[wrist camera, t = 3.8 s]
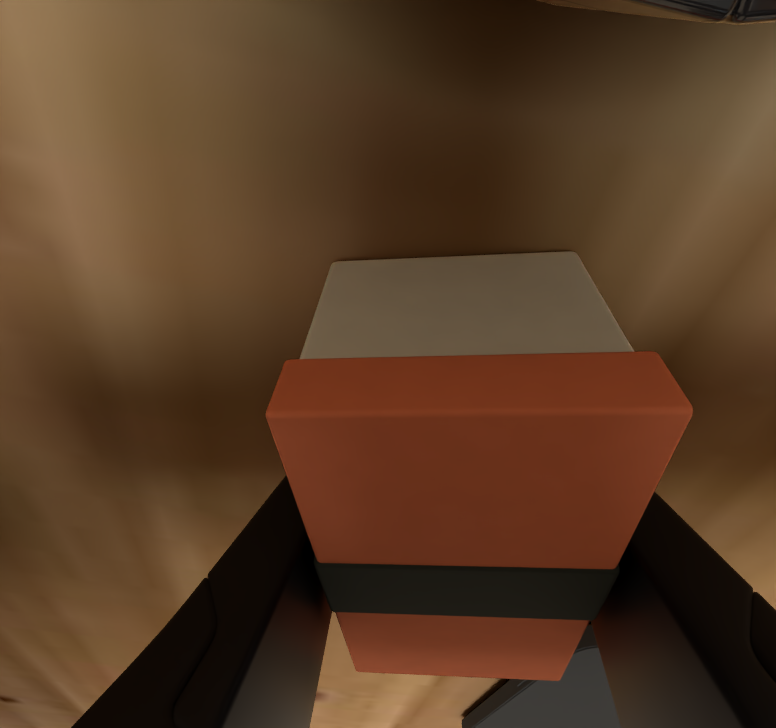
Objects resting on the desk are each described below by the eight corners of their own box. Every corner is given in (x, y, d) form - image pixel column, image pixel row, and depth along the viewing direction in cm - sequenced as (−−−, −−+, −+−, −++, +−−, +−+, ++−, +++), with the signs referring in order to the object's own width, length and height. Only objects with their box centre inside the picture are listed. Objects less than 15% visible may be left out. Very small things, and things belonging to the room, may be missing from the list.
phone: (455, 739, 24) (584, 642, 15) (454, 720, 25) (577, 614, 15) (587, 755, 25) (796, 671, 15) (583, 736, 25) (781, 644, 16)
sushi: (527, 504, 12) (564, 684, 9) (370, 503, 12) (353, 675, 9) (584, 230, 7) (707, 412, 4) (325, 242, 7) (256, 417, 4)
